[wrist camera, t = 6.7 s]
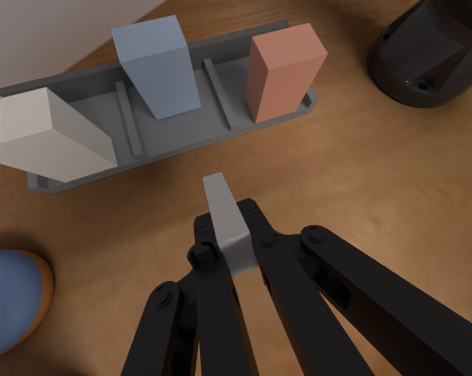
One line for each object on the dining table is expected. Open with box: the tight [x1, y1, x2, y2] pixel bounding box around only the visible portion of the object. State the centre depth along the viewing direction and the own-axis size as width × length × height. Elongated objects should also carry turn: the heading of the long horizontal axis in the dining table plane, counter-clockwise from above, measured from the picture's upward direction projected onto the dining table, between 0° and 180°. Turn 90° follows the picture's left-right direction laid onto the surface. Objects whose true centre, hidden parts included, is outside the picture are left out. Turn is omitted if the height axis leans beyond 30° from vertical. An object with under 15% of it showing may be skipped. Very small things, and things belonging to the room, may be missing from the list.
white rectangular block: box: [0, 87, 118, 183], centre depth 17 cm, size 6×4×8 cm, turn 110°
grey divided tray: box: [0, 20, 318, 194], centre depth 23 cm, size 36×12×4 cm, turn 110°
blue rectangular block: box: [111, 15, 201, 120], centre depth 20 cm, size 6×4×8 cm, turn 110°
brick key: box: [245, 23, 328, 124], centre depth 20 cm, size 6×4×8 cm, turn 111°
